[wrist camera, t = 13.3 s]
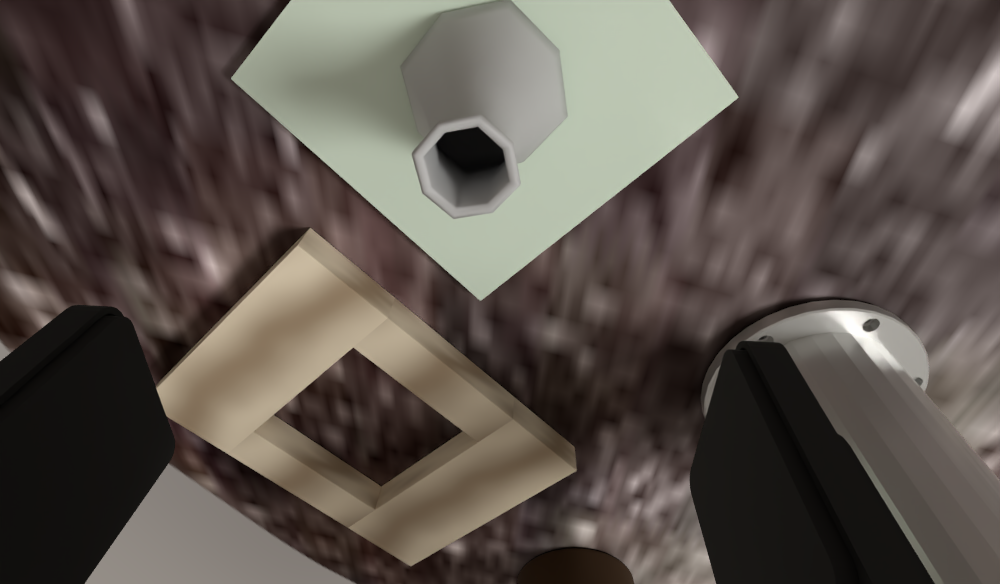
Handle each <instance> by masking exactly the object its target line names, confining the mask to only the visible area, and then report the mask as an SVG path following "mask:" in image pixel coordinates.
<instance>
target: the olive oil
mask: <svg viewBox="0 0 1000 584" xmlns="http://www.w3.org/2000/svg"><path fill="white" fill-rule="evenodd" d="M517 584H634V581H633V577H632V574H631V572H630V571H629V569H628V568H627V567H626V566H625V565H624V564H623V563H622V562H621V561H619V560H618V559H616V558H615V557H613V556H611V555H608V554H606V553H603V552H600V551H596V550H590V549H581V548H569V549H560V550H555V551H551V552H548V553H545V554H542V555H540V556H538V557H536V558H534V559H533V560H531V561H530V562H529V563H527V564H526V565H525V566H524V567H523V569H522V570H521V572H520V573H519V576H518V580H517Z"/></svg>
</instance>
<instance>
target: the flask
mask: <svg viewBox="0 0 1000 584" xmlns="http://www.w3.org/2000/svg"><path fill="white" fill-rule="evenodd" d="M400 67H401V71H402V75H403V79H404V82H405V86H406V90H407V94H408V98H409V101H410V105H411V109H412V113H413V116H414V120H415V124H416V128H417V131H418V132H419V133H420V135H422V136H423V137H424V139H423V140H422V141H421V142H420V144H419V145H418V146H417V147H416V148H415V149H414V151H413V152H412V158H413V162H414V165H415V169H416V172H417V176H418V180H419V183H420V187H421V191H422V194H424V195H425V196H426V197H427V198H428V199H430V200H431V201H432V202H433V203H435V204H436V205H437V206H438V207H439V208H441V209H442V210H443V211H444V212H445V213H447V214H448V215H449V216H450V217H452V218H453V219H457V218H464V217H470V216H476V215H482V214H489V213H493V212H494V211H495V210H496V209H497V208H498V207H499V206H500V205H501V204H502V203H503V202H504V201H505V200H506V199H507V198H508V197H509V196H510V195H511V194H512V193H513V192H514V191H515V190H516V189H517V188H518V187H519V186H520V184H521V181H520V176H519V170H518V165H517V164H518V163H522V162H524V161H525V160H526V159H527V158H528V157H529V156H530V155H531V154H532V153H533V152H534V151H535V150H536V149H537V148H538V147H539V146H540V145H541V144H542V143H543V142H544V141H545V140H546V139H547V138H548V136H549V135H550V134H551V133H552V132H553V131H554V130H555V129H556V128H557V127H558V126H559V125H560V124H561V123H562V122H563V121H564V120H565V119H566V118H567V117H568V114H567V106H566V98H565V90H564V82H563V74H562V66H561V59H560V51H559V49H558V48H557V47H556V46H555V45H554V44H553V43H552V42H551V41H550V40H549V39H548V38H547V37H546V36H545V35H544V33H543V32H542V31H541V30H540V29H539V28H538V27H537V26H536V25H535V24H534V23H533V22H532V21H531V20H530V19H529V18H528V17H527V16H526V15H525V14H524V13H523V12H522V11H521V10H520V9H519V8H518V7H517V6H516V5H515V4H514V3H513V2H512V1H511V0H502V1H498V2H493V3H488V4H483V5H478V6H473V7H469V8H464V9H459V10H454V11H449V12H444V13H442V14H441V15H440V16H439V17H438V19H437V20H436V21H435V23H434V24H433V25H432V26H431V28H430V29H429V30H428V31H427V33H426V34H425V35H424V37H423V38H422V39H421V40H420V42H419V43H418V44H417V46H416V47H415V48H414V49H413V51H412V52H411V53H410V55H409V56H408V57H407V58H406V60H405V61H404V62H403V63H402V65H401V66H400Z"/></svg>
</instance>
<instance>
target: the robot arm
mask: <svg viewBox="0 0 1000 584" xmlns="http://www.w3.org/2000/svg"><path fill="white" fill-rule="evenodd" d="M929 370H930V367H929V361H928V355H927V352H926V350H925V348H924V346H923V344H922V342H921V340H920V339H919V337H918V336H917V335H916V334H915V333H914V332H913V331H912V330H911V329H910V327H909V326H908V325H907V324H906V323H904V322H903V321H902V320H901V319H899V318H898V317H897V316H896V315H894V314H893V313H891V312H889V311H887V310H884V309H882V308H880V307H878V306H875V305H871V304H867V303H863V302H859V301H848V300H826V301H815V302H809V303H805V304H800V305H796V306H792V307H788V308H786V309H783V310H781V311H778V312H776V313H773V314H770V315H768V316H766V317H764V318H762V319H761V320H759V321H757V322H755V323H754V324H752V325H750V326H748V327H747V328H745V329H744V330H743V331H742V332H740V333H739V334H738V335H736V336H735V337H734V338H733V339H731V340H730V341H729V342H728V343H727V345H726V346H725V347H724V348H723V349H722V350H721V351H720V352H719V353H718V354H717V356H716V357H715V359H714V361H713V362H712V364H711V365H710V367H709V368H708V371H707V373H706V376H705V379H704V381H703V384H702V391H701V406H702V412H703V415H704V418H705V421H704V425H703V428H702V432H701V435H700V439H699V442H698V446H697V449H696V453H695V456H694V460H693V463H692V467H691V471H690V489H691V494H692V498H693V501H694V505H695V509H696V512H697V516H698V519H699V523H700V527H701V530H702V534H703V537H704V541H705V545H706V548H707V552H708V555H709V559H710V563H711V566H712V570H713V574H714V577H715V581H716V584H1000V480H999V479H998V477H997V476H996V475H995V474H994V473H993V472H992V470H991V469H990V468H989V467H988V466H987V465H986V463H985V462H984V461H983V460H982V459H981V458H980V456H979V455H978V454H977V453H976V452H975V450H974V449H973V448H972V447H971V446H970V445H969V443H968V442H967V441H966V440H965V439H964V438H963V436H962V435H961V434H960V433H959V432H958V431H957V429H956V428H955V427H954V426H953V425H952V424H951V422H950V421H949V420H948V419H947V418H946V416H945V415H944V414H943V413H942V412H941V411H940V409H939V408H938V407H937V406H936V405H935V404H934V402H933V401H932V400H931V399H930V398H929V397H928V395H927V394H926V393H925V390H926V387H927V385H928V378H929ZM174 448H175V439H174V436H173V433H172V430H171V427H170V425H169V422H168V419H167V416H166V414H165V411H164V408H163V405H162V403H161V400H160V397H159V394H158V392H157V389H156V386H155V383H154V381H153V378H152V375H151V373H150V370H149V367H148V364H147V362H146V359H145V356H144V353H143V351H142V348H141V345H140V342H139V340H138V337H137V334H136V331H135V329H134V326H133V324H132V322H131V320H129V319H128V318H127V317H124V316H123V314H122V313H121V312H120V311H119V310H118V309H117V308H114V307H107V306H88V305H75V306H71V307H69V308H67V309H66V310H64V311H63V312H62V313H61V314H59V315H58V316H57V317H56V318H54V319H53V320H52V321H51V322H49V323H48V324H47V325H46V326H44V327H43V328H42V329H40V330H39V331H38V332H37V333H35V334H34V335H33V336H32V337H30V338H29V339H28V340H27V341H25V342H24V343H23V344H22V345H20V346H19V347H18V348H17V349H15V350H14V351H13V352H11V353H10V354H9V355H8V356H7V357H5V358H4V359H3V360H1V361H0V584H84V583H85V582H86V580H87V579H88V577H89V576H90V575H91V573H92V572H93V571H94V569H95V568H96V566H97V565H98V563H99V562H100V561H101V559H102V558H103V556H104V555H105V553H106V552H107V551H108V549H109V548H110V546H111V545H112V543H113V542H114V540H115V539H116V538H117V536H118V535H119V533H120V532H121V531H122V529H123V528H124V526H125V525H126V523H127V522H128V521H129V519H130V518H131V516H132V515H133V513H134V512H135V511H136V509H137V508H138V506H139V505H140V503H141V502H142V500H143V499H144V497H145V496H146V495H147V493H148V492H149V490H150V489H151V488H152V486H153V485H154V483H155V482H156V480H157V479H158V477H159V476H160V475H161V473H162V472H163V470H164V469H165V468H166V466H167V464H168V463H169V462H170V460H171V458H172V456H173V453H174Z"/></svg>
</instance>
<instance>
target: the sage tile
mask: <svg viewBox="0 0 1000 584" xmlns="http://www.w3.org/2000/svg"><path fill="white" fill-rule="evenodd" d="M498 1H502V0H291V1H290V2H289V4H288V5H287V6H286V7H285V9H284V10H283V11H282V13H281V14H280V15H279V17H278V18H277V19H276V20H275V22H274V23H273V24H272V26H271V27H270V28H269V30H268V31H267V32H266V33H265V35H264V36H263V37H262V39H261V40H260V41H259V43H258V44H257V45H256V46H255V48H254V49H253V50H252V52H251V53H250V54H249V56H248V57H247V58H246V59H245V61H244V62H243V63H242V65H241V66H240V67H239V69H238V70H237V71H236V73H235V74H234V75H233V76H232V78H231V79H232V80H233V81H234V82H235V83H236V84H237V85H238V86H239V87H241V88H242V89H243V90H244V91H245V92H246V93H247V94H248V95H250V96H251V97H252V98H253V99H254V100H255V101H256V102H257V103H259V104H260V105H261V106H262V107H263V108H264V109H265V110H266V111H268V112H269V113H270V114H271V115H272V116H273V117H274V118H275V119H277V120H278V121H279V122H280V123H281V124H282V125H283V126H284V127H286V128H287V129H288V130H289V131H290V132H291V133H292V134H293V135H294V136H296V137H297V138H298V139H299V140H300V141H301V142H302V143H303V144H305V145H306V146H307V147H308V148H309V149H310V150H311V151H312V152H314V153H315V154H316V155H317V156H318V157H319V158H320V159H321V160H323V161H324V162H325V163H326V164H327V165H328V166H329V167H330V168H332V169H333V170H334V171H335V172H336V173H337V174H338V175H339V176H341V177H342V178H343V179H344V180H345V181H346V182H347V183H348V184H350V185H351V186H352V187H353V188H354V189H355V190H356V191H357V192H359V193H360V194H361V195H362V196H363V197H364V198H365V199H366V200H368V201H369V202H370V203H371V204H372V205H373V206H374V207H375V208H377V209H378V210H379V211H380V212H381V213H382V214H383V215H384V216H386V217H387V218H388V219H389V220H390V221H391V222H392V223H393V224H395V225H396V226H397V227H398V228H399V229H400V230H401V231H402V232H404V233H405V234H406V235H407V236H408V237H409V238H410V239H411V240H412V241H414V242H415V243H416V244H417V245H418V246H419V247H420V248H421V249H423V250H424V251H425V252H426V253H427V254H428V255H429V256H430V257H432V258H433V259H434V260H435V261H436V262H437V263H438V264H439V265H441V266H442V267H443V268H444V269H445V270H446V271H447V272H448V273H450V274H451V275H452V276H453V277H454V278H455V279H456V280H457V281H459V282H460V283H461V284H462V285H463V286H464V287H465V288H466V289H468V290H469V291H470V292H471V293H472V294H473V295H474V296H475V297H477V298H478V299H479V300H480V301H481V300H482V299H484V298H485V297H486V296H487V295H489V294H490V293H491V292H492V291H494V290H495V289H496V288H498V287H499V286H500V285H501V284H503V283H504V282H505V281H506V280H508V279H509V278H510V277H511V276H513V275H514V274H515V273H517V272H518V271H519V270H520V269H522V268H523V267H524V266H525V265H527V264H528V263H529V262H531V261H532V260H533V259H534V258H536V257H537V256H538V255H539V254H541V253H542V252H543V251H544V250H546V249H547V248H548V247H550V246H551V245H552V244H553V243H555V242H556V241H557V240H558V239H560V238H561V237H562V236H563V235H565V234H566V233H567V232H569V231H570V230H571V229H572V228H574V227H575V226H576V225H577V224H579V223H580V222H581V221H583V220H584V219H585V218H586V217H588V216H589V215H590V214H591V213H593V212H594V211H595V210H596V209H598V208H599V207H600V206H602V205H603V204H604V203H605V202H607V201H608V200H609V199H610V198H612V197H613V196H614V195H616V194H617V193H618V192H619V191H621V190H622V189H623V188H624V187H626V186H627V185H628V184H629V183H631V182H632V181H633V180H635V179H636V178H637V177H638V176H640V175H641V174H642V173H643V172H645V171H646V170H647V169H648V168H650V167H651V166H652V165H654V164H655V163H656V162H657V161H659V160H660V159H661V158H662V157H664V156H665V155H666V154H668V153H669V152H670V151H671V150H673V149H674V148H675V147H676V146H678V145H679V144H680V143H681V142H683V141H684V140H685V139H687V138H688V137H689V136H690V135H692V134H693V133H694V132H695V131H697V130H698V129H699V128H701V127H702V126H703V125H704V124H706V123H707V122H708V121H709V120H711V119H712V118H713V117H714V116H716V115H717V114H718V113H720V112H721V111H722V110H723V109H725V108H726V107H727V106H728V105H730V104H731V103H732V102H733V101H735V100H736V99H737V98H739V97H738V96H737V94H736V93H735V92H734V90H733V89H732V87H731V86H730V85H729V83H728V82H727V80H726V79H725V78H724V76H723V75H722V73H721V72H720V71H719V69H718V68H717V67H716V65H715V64H714V62H713V61H712V60H711V58H710V57H709V55H708V54H707V53H706V51H705V50H704V48H703V47H702V46H701V44H700V43H699V41H698V40H697V39H696V37H695V36H694V34H693V33H692V32H691V30H690V29H689V28H688V26H687V25H686V23H685V22H684V21H683V19H682V18H681V16H680V15H679V14H678V12H677V11H676V9H675V8H674V7H673V5H672V4H671V2H670V1H669V0H511V1H512V2H513V3H514V4H515V5H516V6H517V7H518V8H519V9H520V10H521V11H522V12H523V13H524V14H525V15H526V16H527V17H528V18H529V19H530V20H531V21H532V22H533V23H534V24H535V25H536V26H537V27H538V28H539V29H540V30H541V31H542V32H543V33H544V35H545V36H546V37H547V38H548V39H549V40H550V41H551V42H552V43H553V44H554V45H555V46H556V47H557V48H558V49H559V51H560V59H561V66H562V74H563V82H564V90H565V98H566V106H567V114H568V117H567V118H566V119H565V120H564V121H563V122H562V123H561V124H560V125H559V126H558V127H557V128H556V129H555V130H554V131H553V132H552V133H551V134H550V135H549V136H548V138H547V139H546V140H545V141H544V142H543V143H542V144H541V145H540V146H539V147H538V148H537V149H536V150H535V151H534V152H533V153H532V154H531V155H530V156H529V157H528V158H527V159H526V160H525V161H524V162H522V163H518V164H517V165H518V170H519V176H520V181H521V184H520V186H519V187H518V188H517V189H516V190H515V191H514V192H513V193H512V194H511V195H510V196H509V197H508V198H507V199H506V200H505V201H504V202H503V203H502V204H501V205H500V206H499V207H498V208H497V209H496V210H495V211H494V212H493V213H489V214H482V215H476V216H470V217H464V218H457V219H453V218H452V217H450V216H449V215H448V214H447V213H445V212H444V211H443V210H442V209H441V208H439V207H438V206H437V205H436V204H435V203H433V202H432V201H431V200H430V199H428V198H427V197H426V196H425V195H424V194H422V191H421V187H420V183H419V180H418V176H417V172H416V169H415V165H414V162H413V158H412V152H413V151H414V149H415V148H416V147H417V146H418V145H419V144H420V142H421V141H422V140H423V139H424V137H423V136H422V135H420V133H419V132H418V131H417V128H416V124H415V120H414V116H413V113H412V109H411V105H410V101H409V98H408V94H407V90H406V86H405V82H404V79H403V75H402V71H401V67H400V66H401V65H402V63H403V62H404V61H405V60H406V58H407V57H408V56H409V55H410V53H411V52H412V51H413V49H414V48H415V47H416V46H417V44H418V43H419V42H420V40H421V39H422V38H423V37H424V35H425V34H426V33H427V31H428V30H429V29H430V28H431V26H432V25H433V24H434V23H435V21H436V20H437V19H438V17H439V16H440V15H441V14H442V13H444V12H449V11H454V10H459V9H464V8H469V7H473V6H478V5H483V4H488V3H493V2H498Z"/></svg>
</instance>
